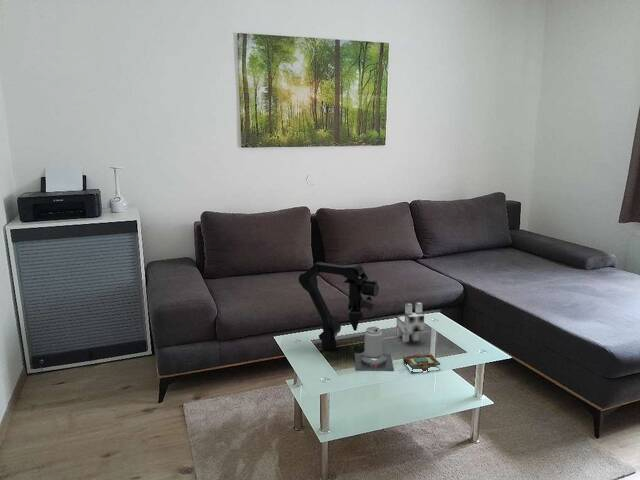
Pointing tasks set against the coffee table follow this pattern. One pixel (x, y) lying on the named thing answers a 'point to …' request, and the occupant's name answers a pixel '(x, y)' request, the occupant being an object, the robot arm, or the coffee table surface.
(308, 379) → the coffee table surface
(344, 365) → the coffee table surface
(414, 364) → the decorative book
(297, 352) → the coffee table surface
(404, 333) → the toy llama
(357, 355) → the square metal dish
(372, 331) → the can
